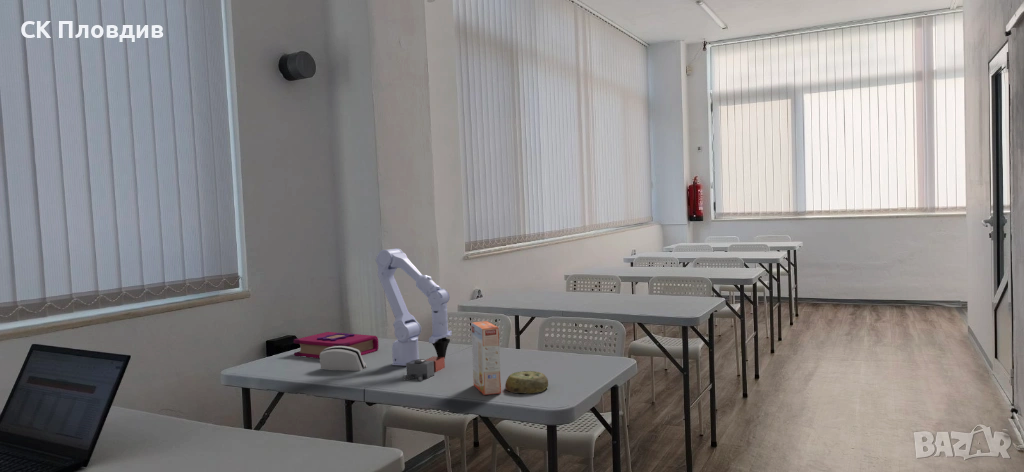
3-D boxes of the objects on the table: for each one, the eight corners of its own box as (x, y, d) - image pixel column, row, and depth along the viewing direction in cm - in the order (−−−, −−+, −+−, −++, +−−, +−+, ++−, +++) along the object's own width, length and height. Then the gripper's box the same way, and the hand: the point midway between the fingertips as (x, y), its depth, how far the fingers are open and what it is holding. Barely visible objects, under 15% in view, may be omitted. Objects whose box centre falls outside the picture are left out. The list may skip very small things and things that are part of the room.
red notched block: (424, 371, 250) (423, 360, 250) (433, 367, 257) (433, 356, 257) (435, 372, 249) (435, 361, 248) (444, 367, 255) (444, 356, 255)
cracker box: (502, 393, 216) (499, 326, 215) (483, 396, 215) (480, 328, 214) (490, 383, 230) (488, 320, 229) (473, 385, 228) (470, 321, 227)
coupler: (429, 366, 257) (428, 351, 257) (448, 368, 254) (447, 352, 254) (402, 379, 239) (401, 363, 239) (422, 381, 236) (421, 364, 236)
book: (330, 346, 305) (329, 329, 305) (379, 351, 291) (378, 333, 291) (292, 356, 287) (291, 338, 287) (342, 362, 273) (341, 342, 273)
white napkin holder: (367, 367, 260) (362, 344, 257) (362, 374, 256) (356, 351, 252) (327, 366, 265) (321, 343, 261) (321, 373, 260) (315, 350, 257)
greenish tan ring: (557, 389, 220) (556, 373, 219) (522, 397, 212) (522, 381, 212) (531, 381, 231) (530, 366, 231) (497, 389, 223) (496, 373, 223)
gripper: (440, 326, 249) (442, 363, 249) (458, 319, 262) (459, 355, 263) (423, 325, 251) (424, 362, 252) (441, 318, 265) (443, 354, 266)
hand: (441, 358), depth 258 cm, fingers closed
